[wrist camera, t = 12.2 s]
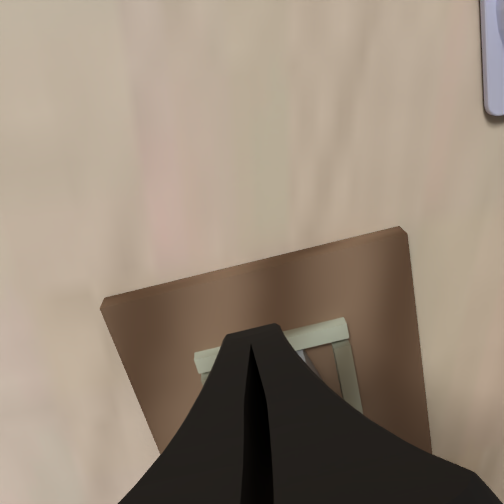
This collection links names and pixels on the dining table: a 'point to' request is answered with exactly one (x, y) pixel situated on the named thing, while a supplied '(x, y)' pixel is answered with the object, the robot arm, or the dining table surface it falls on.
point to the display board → (284, 330)
